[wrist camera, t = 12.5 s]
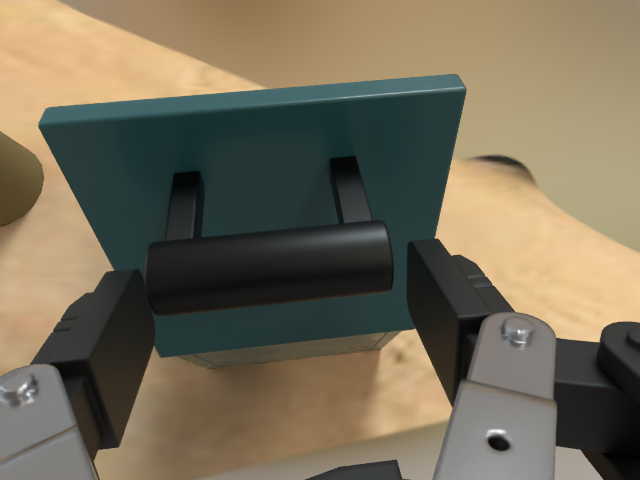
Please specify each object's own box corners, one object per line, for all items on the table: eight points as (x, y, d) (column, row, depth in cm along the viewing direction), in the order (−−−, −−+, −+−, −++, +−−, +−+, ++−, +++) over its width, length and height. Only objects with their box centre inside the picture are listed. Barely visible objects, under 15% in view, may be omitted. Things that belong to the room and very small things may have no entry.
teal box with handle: (45, 105, 11) (-33, 258, 8) (458, 71, 12) (539, 201, 9) (162, 341, 19) (146, 468, 16) (411, 313, 20) (445, 430, 16)
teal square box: (201, 208, 31) (162, 133, 23) (357, 193, 31) (374, 115, 23) (207, 369, 27) (164, 351, 19) (381, 349, 28) (411, 323, 20)
